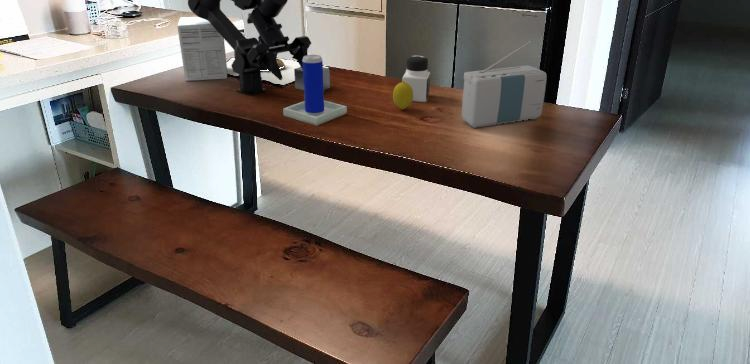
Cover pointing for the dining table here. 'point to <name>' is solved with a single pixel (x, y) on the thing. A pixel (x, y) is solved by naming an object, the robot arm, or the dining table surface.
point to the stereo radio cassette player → (503, 94)
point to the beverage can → (313, 84)
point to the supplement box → (201, 49)
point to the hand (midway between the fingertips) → (294, 76)
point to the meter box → (300, 84)
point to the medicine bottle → (418, 77)
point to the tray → (328, 114)
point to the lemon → (402, 95)
